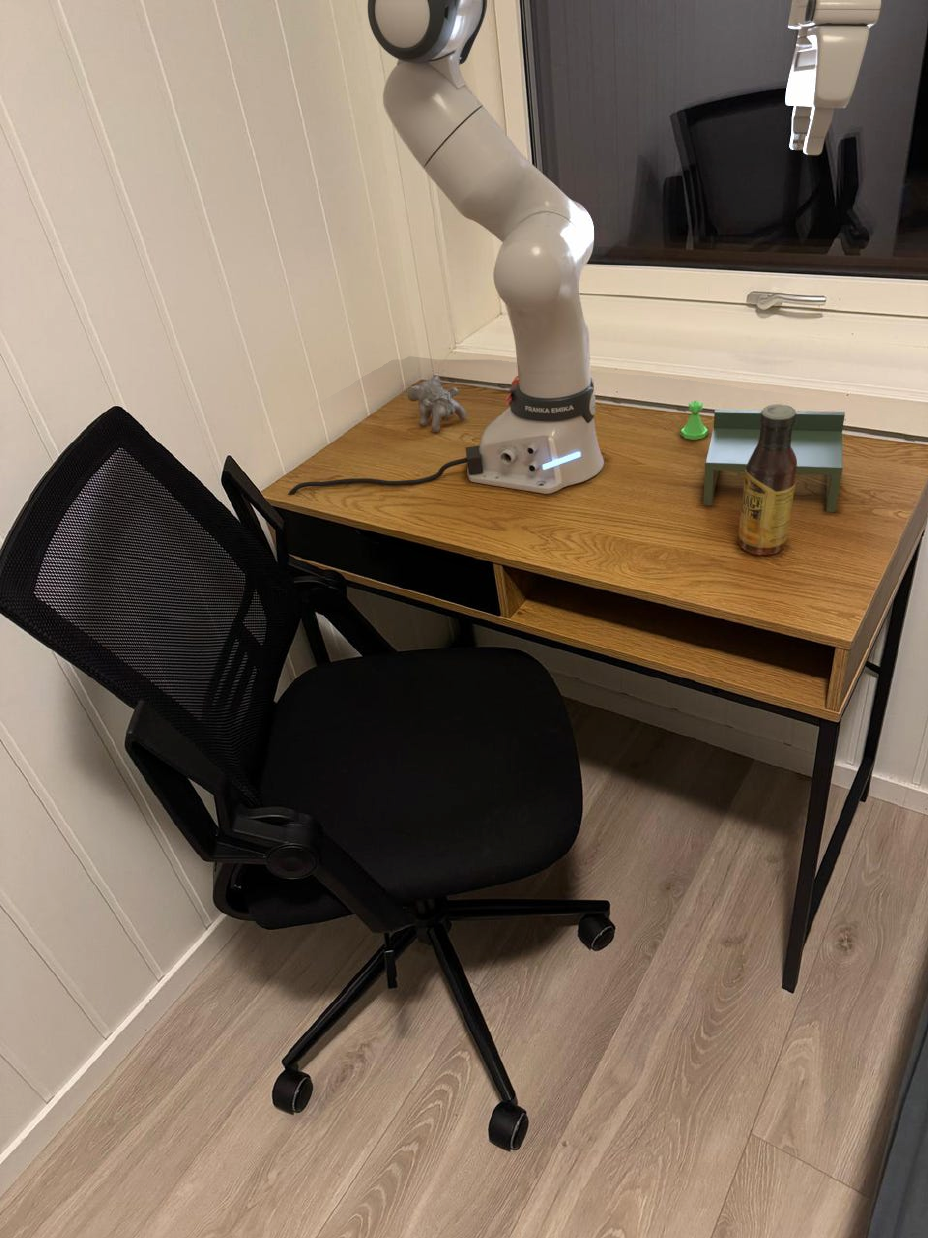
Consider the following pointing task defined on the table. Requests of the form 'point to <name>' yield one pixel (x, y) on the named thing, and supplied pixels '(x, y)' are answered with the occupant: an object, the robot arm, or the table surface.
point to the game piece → (694, 423)
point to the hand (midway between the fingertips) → (804, 151)
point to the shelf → (810, 442)
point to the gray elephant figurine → (435, 402)
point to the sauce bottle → (769, 484)
